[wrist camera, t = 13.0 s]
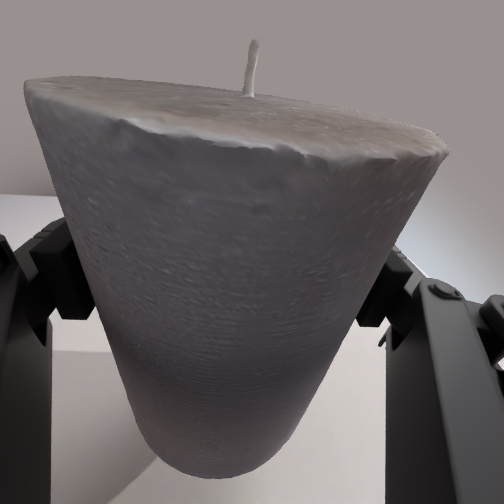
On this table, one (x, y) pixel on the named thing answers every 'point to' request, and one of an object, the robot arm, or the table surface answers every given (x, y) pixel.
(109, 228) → the pillar candle
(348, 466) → the table surface
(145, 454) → the table surface
